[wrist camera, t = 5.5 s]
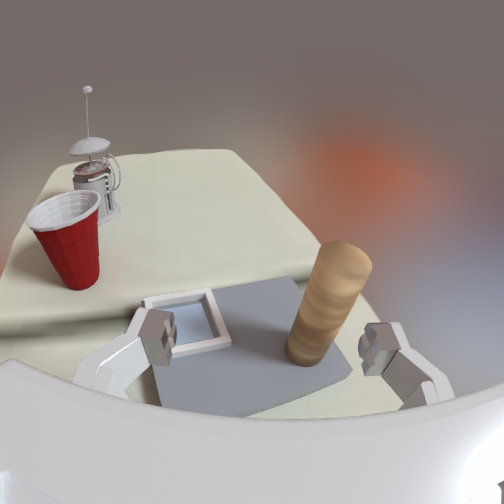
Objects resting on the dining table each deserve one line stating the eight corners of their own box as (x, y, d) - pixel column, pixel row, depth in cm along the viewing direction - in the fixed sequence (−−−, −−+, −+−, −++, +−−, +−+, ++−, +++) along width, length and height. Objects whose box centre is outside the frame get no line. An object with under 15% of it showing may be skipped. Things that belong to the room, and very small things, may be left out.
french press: (95, 197, 53) (87, 84, 38) (136, 206, 52) (133, 80, 37) (65, 220, 46) (49, 93, 31) (107, 232, 44) (94, 87, 29)
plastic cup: (100, 245, 41) (88, 178, 34) (126, 282, 36) (112, 205, 29) (44, 269, 35) (22, 202, 28) (60, 315, 29) (28, 239, 22)
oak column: (295, 372, 27) (340, 282, 19) (277, 339, 30) (308, 244, 22) (330, 359, 28) (382, 271, 21) (311, 329, 32) (350, 238, 24)
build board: (170, 434, 21) (166, 426, 19) (143, 311, 33) (140, 295, 31) (346, 378, 29) (356, 365, 27) (286, 285, 40) (291, 270, 38)
